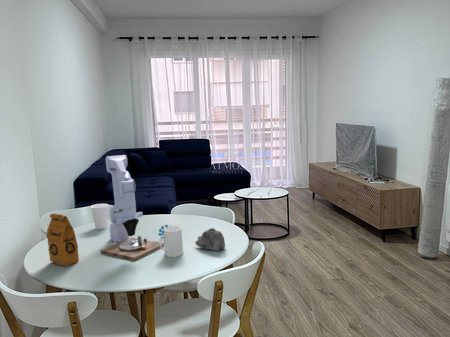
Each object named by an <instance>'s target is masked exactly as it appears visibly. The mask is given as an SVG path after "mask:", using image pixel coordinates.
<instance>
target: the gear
mask: <svg viewBox="0 0 450 337" xmlns="http://www.w3.org/2000/svg"><path fill="white" fill-rule="evenodd" d="M170 226H172V225H168V224H165V225H162V226H161V228H159V230H158V232H159V233H158V236H160V239H161V237H162V236H163V235H164V228H166V227H170ZM163 239H164V237H163Z"/></svg>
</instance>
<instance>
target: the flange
mask: <svg viewBox="0 0 450 337" xmlns="http://www.w3.org/2000/svg"><path fill="white" fill-rule="evenodd" d="M137 239H138V240H130V241H126V242H123V243H121V244H120V245H119V247H120V249H121V250H125V251H132V250H138V249H145V248H146V246H145V242H144V241H142V240H143V239H142V235H137ZM141 239H142V240H141Z"/></svg>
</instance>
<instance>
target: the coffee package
mask: <svg viewBox="0 0 450 337" xmlns="http://www.w3.org/2000/svg"><path fill="white" fill-rule="evenodd" d="M49 218H50V222H49V224H48V228H47V230H46V237H47V245H48V249H47V250H48V254H49V255H48V256H49V261H50V262H52V263H55V264H56V265H57V264H58V265H59V266H62V267H68V266H72V265H74V264H78V261H79V262H80V258H79V248H78V247H79V246H78V242H77V237H76V234H75V233H76V232H75V230H74V227H73V226H72V224H71V222H70V220H69V218H68V216H66V215H63V214H60V213H57V214H56V213H51V214H50V215H49ZM71 264H72V265H71Z"/></svg>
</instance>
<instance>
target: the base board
mask: <svg viewBox="0 0 450 337" xmlns="http://www.w3.org/2000/svg"><path fill="white" fill-rule="evenodd" d="M131 237H132V236H130V238H128V239H126V240H123V241H121V242H116V243H113V244H111V245H110V246H106V247H104V248H102V249H100V250H99V252H100V254H103V255H108V256H113V257H117V258H120V259H126V260H129V261H132V262H133V261H134V262H136V261H138V260H140V259H142V258H144V257H146V256H147V255H150V254H152V253H154V252H156V251H158V250H161V247H160V242H157V241H153V240H152V241H151V240H148V239H147V238H144V239H142V238H141V240H142V241H144V242H145V246H146V248H145V249H138V250H132V251H125V250H121V249H120V247H119V245H120V244H121V243H123V242H126V241H130V240H138V237H137V238H135V237H133V238H131ZM161 246H162V248H165V242H161Z"/></svg>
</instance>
